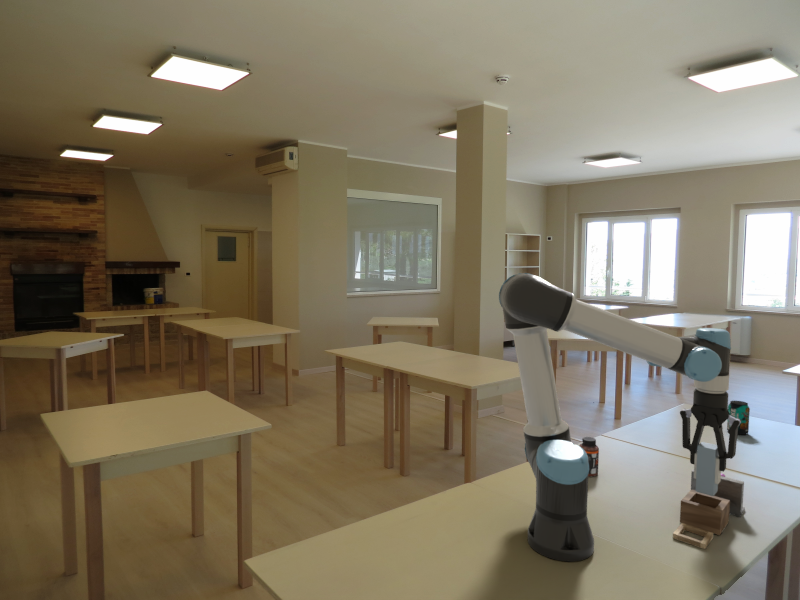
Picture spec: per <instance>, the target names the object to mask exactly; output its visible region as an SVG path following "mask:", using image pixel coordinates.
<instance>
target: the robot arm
mask: <svg viewBox="0 0 800 600" xmlns="http://www.w3.org/2000/svg"><path fill="white" fill-rule="evenodd" d="M498 302H499V304H500V307H501V308H502V311H503V312H502V313H503V319H504V324H505V330H507V331H508V332H509V333H511V335H513V342H514V349H515V354H516V355H515V356H516V359H517V366H518V372H519V378H520V383H521V389H522V394H523V399H524V406H525V412H526V419H527V423H526V424H525V426H523V428H522V430H523V436H524V442H525V443H524V452H525V453H524V454H525V457H526V460H527V462H528V463H529V465H530V468H531V470H532V473H533V475H534V477H535V484H536V485H535V489H536V490H535V510H534V512H533V515H532V518H531V520H530V523H529V526H528V528H527V543H528V545H529V546H530V548H531V549H533V550H534V551H535V552H537V553H538V554H540V555H541V556H544V557H546V558H549V559H552V560H554V561H555V560H556V561H559V562H560V561H561V562H579V561H583V560H587V559H588V558H590V557H591V556H592V555H593V554H594V551H595V539H594V535H593V531H592V528H591V525H590V522H589V519H588V498H589V497H588V496H589V495H588V493H589V492H588V491H589V476H588V473H589V463H588V456H587V453H586V452H585V450H584V449H583V448H581V447H580V446H579V445H580V444H579V445H578V444H575V443H574V442H572V437H571V432H570V425H569V424H568V423H567V421H565V420H563V419H562V414H561V409H560V401H559V396H558V391H557V390H558V389H557V385H556V384H557V383H556V378H555V371H554V367H553V366H554V365H553V361H552V355H551V347H550V342H549V336H548V329H549V330H551V331H554V332H562V331H567V332H569V333H572V334H574V335H577V336H580V337H583V338H586V339H588V340H590V341H593V342H597V343H599V344H602V345H604V346H606V347H610V348H612V349H615V350H618V351H620V352H623V353H624V354H628V355H630V356H633V357H635V358H639V359H640V360H644V361H646V362H647V364H648V365H649V366H651V367H659V368H662V367H663V368H665V369H668V370H670V371H673V372H675V373H678V374H681V375H683V376H685V377H688V378H689V379H690V380H693V387H694V389H693V399H692V400H693V401H692V402H693V404H692V406H691V408H688V409H686V408H683V409H681V410H680V411H679V414H680V417H681V420H682V429H681V430H682V434H681V435H682V437H681V438H682V441H681V442H682V447H683V449H685V450H688V451H689V452H690V455H689V457H690V458H689V462H690V464H691V465H693V469H694V478H695V479H696V471H697V446H698V445H699V444H700V443H701V439H702V435H703V433H704V432H703V431H704V429H705V427H710V428H712V429H713V433H714V437H715V442H716V445H717V448H718V453H719V455H718V457H717V458H716V463H715V484H719V483H720V481H721V473H723V472H725V471H726V469H727V459H733V458H734V457H735V456H736V452H737V451H736V450H737V444H738V435H737V432H738V427H739V425H740V423H741V419H739V418H737V419H736V418H734V417H732V416H730V413H729V411H728V405H729V393H728V392H727V391H729V389H730V361H731V350H732V347H731V346H732V344H731V342H732V341H731V333H730V332H729V331H728V330H726V329H723V328H716V327H715V328H714V327H713V328H712V327H700V328H697V329H696V331H695V334H694V336H674V335H673V334H669V333H667V332H664V331H662V330H659V329H656V328H654V327H651V326H648V325H646V324H643V323H640V322H639V321H638V322H637V321H635V320H633V319H629V318H627V317H624V316H621V315H619V314H616V313H613V312H610V311H608V310H606V309H603V308H600V307H598V306H595V305H592V304H589V303H587V302H585V301H582V300H578V299H576V296H575V294H574V293H573V292H571V291H567V290H565V289H563V288H560V287H559V286H556V285H554V284H552V283H551V282H549V281H547V280H546V279H544V278H542V277H541V276H538V275H534V274H531V273H527V272H523V273H521V272H520V273H515V274H513V275H511V276H509V277H508V278H507V279H506V280H505V281H504V282H503V283H502V285H501V286H500V289H499V293H498ZM692 415H693V416H694V418H695V419H696V422H697V423H696V426H695V427H696V428H695V431H694V435H693V438H692V442H691V417H692ZM727 419H728V420H729V425H730V426H731V427H730V432H729V434H728V445H727V446H728V447H727V446H726V441H725V436H724V432H723V424H724V423H725V422H726V421H727Z"/></svg>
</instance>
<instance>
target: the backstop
mask: <svg viewBox="0 0 800 600" xmlns="http://www.w3.org/2000/svg"><path fill="white" fill-rule="evenodd" d="M690 476H691V479H690V490H695V491H696V479H695V478H694V468H693V469H692V470H691V475H690ZM744 485H745V482H744V481H743V480H739V479H735V478H731V477H727V476H725V477H723V476H721V481H720V483H719V484H718V491H717V492H716V494H715V495H714V496H716V497H720V498H724V499H727V500H730V509H729V515H732V516H736V517H739V518H741V517H742V515H743V514H744V512H745V511H746V509H745V507H744V506H743V505H744V504H743V503H744V487H745V486H744Z"/></svg>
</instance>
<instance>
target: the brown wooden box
mask: <svg viewBox="0 0 800 600" xmlns="http://www.w3.org/2000/svg"><path fill="white" fill-rule="evenodd" d="M679 508H680V513H679V523H680V524H681V523H684V524H687V525H690V526H693V527H696V528H699V529H702V530H705V531H709V532H712V533H713V535H714V534H715V535H717V536H721V534H722V533H723V531H724V530H725V528H726V527H727V525H728V524H729V522H730V514H729V509H730V500H727V499H724V498H720V497H716V496H710V495H707V494H703V493H699V492H696V491H695V490H691V489H690V490H689V491H688V492H687V493H686V495H684V496H683V497H682V498H681V500H680V507H679Z"/></svg>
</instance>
